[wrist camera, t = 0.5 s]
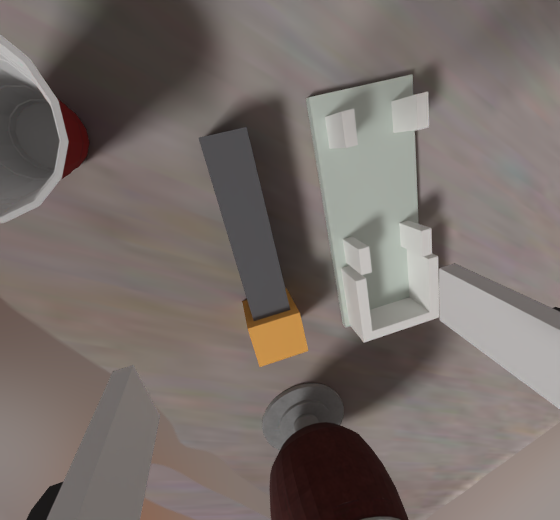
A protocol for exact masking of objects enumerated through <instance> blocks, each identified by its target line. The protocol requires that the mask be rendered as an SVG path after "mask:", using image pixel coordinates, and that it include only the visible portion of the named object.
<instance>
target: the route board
mask: <svg viewBox="0 0 560 520" xmlns="http://www.w3.org/2000/svg"><path fill="white" fill-rule="evenodd" d="M306 103H307V109H308V115H309V121H310V127H311V133H312V139H313V145H314V152H315V158H316V164H317V170H318V176H319V182H320V188H321V194H322V200H323V207H324V213H325V219H326V225H327V231H328V237H329V243H330V249H331V255H332V262H333V268H334V274H335V280H336V286H337V292H338V298H339V304H340V310H341V317H342V323H343V325H344V326H345V327H349V326H351V327H352V328H353V330H354V331H355V332H356V333H357V335H358V336H359V337H360V338H361V340H362V341H363V342H367V341H370V340H373V339H376V338H379V337H382V336H385V335H388V334H391V333H394V332H397V331H400V330H403V329H406V328H409V327H412V326H415V325H418V324H421V323H424V322H427V321H430V320H433V319H436V318H439V281H438V256H437V255H435V254H432V232H431V228H430V227H427V226H424V225H421V224H418V199H417V174H416V150H415V130H420V129H424V128H428V127H429V103H428V92H424V93H420V94H416V95H413V75H412V74H411V75H407V76H402V77H398V78H393V79H389V80H384V81H380V82H375V83H371V84H366V85H362V86H357V87H353V88H348V89H344V90H339V91H335V92H331V93H326V94H322V95H317V96H313V97H309V98H307V99H306Z"/></svg>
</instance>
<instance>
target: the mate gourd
mask: <svg viewBox="0 0 560 520" xmlns="http://www.w3.org/2000/svg"><path fill="white" fill-rule="evenodd" d="M343 416H344V407H343V403H342V401H341V399H340V397H339V395H338V394H337V393H336V391H335V390H333V389H332V388H330V387H328V386H326V385H323V384H317V383H307V384H301V385H297V386H294V387H291V388H289V389H288V390H286V391H284V392H282V393H281V394H279V395H278V396H277V397H276V398H275V399H274V400H273V401H272V402H271V403H270V404H269V406H268V407H267V409H266V411H265V413H264V415H263V420H262V429H263V433H264V436H265V438H266V440H267V441H268V443H269V444H270V445H272V446H273V447H274V448H276V449H278V450H280V452H279V454H278V456H277V458H276V460H275V462H274V464H273V466H272V470H271V474H270V507H271V508H270V509H271V520H408V517H407V514H406V512H405V509H404V507H403V504H402V502H401V499H400V497H399V494H398V492H397V490H396V487H395V485H394V484H393V482H392V480H391V478H390V476H389V474H388V473H387V471H386V469H385V467H384V465H383V464H382V462H381V461H380V460H379V458H378V457H377V455H376V454H375V453H374V451H373V450H372V449H371V447H370V446H369V445H368V444H367V443H366V442H365V441H364V440H363V439H362V437H361V436H360V435H359V434H357V433H356V432H354V431H352V430H350V429H347V428H345V427H343V426H340V424H341V422H342V419H343Z"/></svg>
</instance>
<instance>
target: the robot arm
mask: <svg viewBox="0 0 560 520" xmlns="http://www.w3.org/2000/svg"><path fill="white" fill-rule="evenodd" d="M439 301H440V321H441V322H443V323H444V324H445V325H447V326H448V327H449V328H451V329H452V330H453V331H455V332H456V333H457V334H459V335H460V336H462V337H463V338H464V339H466V340H467V341H468V342H470V343H471V344H472V345H474V346H475V347H476V348H478V349H479V350H480V351H482V352H483V353H484V354H486V355H487V356H489V357H490V358H491V359H493V360H494V361H495V362H497V363H498V364H499V365H501V366H502V367H503V368H505V369H506V370H507V371H509V372H510V373H511V374H513V375H514V376H516V377H517V378H518V379H520V380H521V381H522V382H524V383H525V384H526V385H528V386H529V387H530V388H532V389H533V390H534V391H536V392H537V393H538V394H540V395H541V396H543V397H544V398H545V399H547V400H548V401H549V402H551V403H552V404H553V405H555V406H556V407H557V408H559V409H560V308H557V307H554V308H551V307H549V306H546V305H544V304H542V303H540V302H538V301H536V300H533V299H531V298H529V297H527V296H525V295H523V294H520V293H518V292H516V291H514V290H512V289H510V288H507V287H505V286H503V285H501V284H499V283H496V282H494V281H492V280H490V279H488V278H486V277H483V276H481V275H479V274H477V273H475V272H473V271H470V270H468V269H466V268H464V267H462V266H460V265H457V264H455V263H454V264H451V265H448V266H444V267H441V268H439ZM159 419H160V414H159V412H158V410H157V409H156V407H155V405H154V403H153V401H152V399H151V397H150V395H149V393H148V392H147V390H146V388H145V386H144V384H143V382H142V380H141V378H140V376H139V375H138V373H137V371H136V369H135V367H134V365H132V366H129V367H125V368H122V369H119V370H116V371H113V373H112V375H111V377H110V379H109V381H108V384H107V386H106V388H105V390H104V393H103V395H102V397H101V400H100V401H99V404H98V406H97V409H96V411H95V413H94V415H93V417H92V420H91V422H90V424H89V426H88V428H87V431H86V433H85V435H84V437H83V439H82V442H81V444H80V446H79V448H78V451H77V453H76V455H75V457H74V460H73V462H72V464H71V466H70V469H69V471H68V473H67V475H66V477H65V479H64V482H61V483H58V484H56V485H53V486H50V487H49V488H48V489H47V490H46V492H45V493H44V494H43V496H42V497H41V498H40V499H39V501H38V502H37V503H36V505H35V506H34V507H33V509H32V510H31V512H30V514H29V516H28V518H27V520H140V516H141V511H142V506H143V501H144V495H145V490H146V485H147V480H148V475H149V470H150V465H151V459H152V454H153V449H154V444H155V439H156V434H157V429H158V424H159Z"/></svg>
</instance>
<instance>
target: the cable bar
mask: <svg viewBox="0 0 560 520" xmlns="http://www.w3.org/2000/svg"><path fill="white" fill-rule="evenodd" d="M199 141H200V144H201V147H202V151H203V154H204V157H205V161H206V164H207V167H208V171H209V174H210V177H211V181H212V184H213V187H214V191H215V194H216V197H217V201H218V204H219V207H220V211H221V214H222V217H223V221H224V224H225V227H226V231H227V234H228V237H229V241H230V244H231V247H232V251H233V254H234V257H235V261H236V264H237V267H238V271H239V274H240V277H241V281H242V284H243V287H244V291H245V294H246V297H247V300H245V301H242V302H243V307H244V312H245V317H246V322H247V327H248V331H249V334H250V337H251V341H252V344H253V347H254V350H255V353H256V357H257V360H258V363H259V366H260V367H261V366H264V365H267V364H270V363H273V362H276V361H279V360H282V359H285V358H288V357H291V356H294V355H297V354H300V353H303V352H307V351H308V347H307V343H306V338H305V334H304V329H303V325H302V321H301V316H300V312H299V310H298V309H297V307H296V305H295V303H294V301H293V299H292V298H291V296H290V294H289V292H288V290H287V288H285V285H284V281H283V277H282V273H281V269H280V265H279V260H278V256H277V252H276V248H275V244H274V240H273V235H272V231H271V227H270V223H269V219H268V215H267V210H266V206H265V202H264V198H263V194H262V190H261V185H260V181H259V177H258V173H257V169H256V164H255V160H254V156H253V152H252V148H251V144H250V139H249V135H248V131H247V127H244V128H240V129H235V130H231V131H226V132H222V133H218V134H213V135H209V136H205V137H200V138H199Z"/></svg>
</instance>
